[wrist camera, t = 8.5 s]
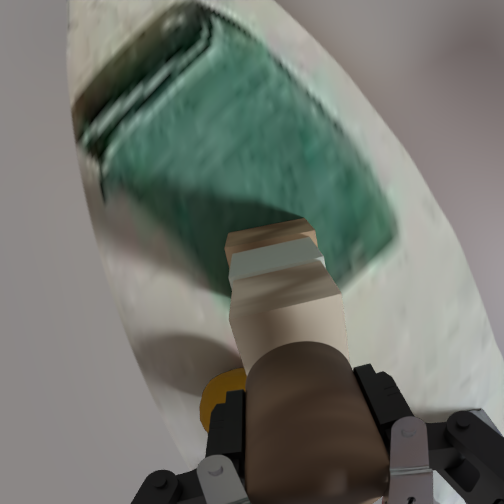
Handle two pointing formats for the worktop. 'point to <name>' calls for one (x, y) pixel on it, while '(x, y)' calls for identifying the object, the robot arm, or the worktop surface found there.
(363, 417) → the walnut cylinder
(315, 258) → the tower mid
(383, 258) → the worktop surface
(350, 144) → the worktop surface
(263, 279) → the tower top
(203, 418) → the apple
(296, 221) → the tower base
